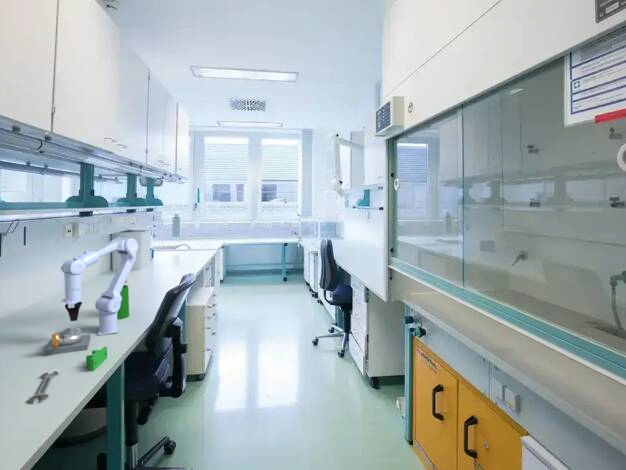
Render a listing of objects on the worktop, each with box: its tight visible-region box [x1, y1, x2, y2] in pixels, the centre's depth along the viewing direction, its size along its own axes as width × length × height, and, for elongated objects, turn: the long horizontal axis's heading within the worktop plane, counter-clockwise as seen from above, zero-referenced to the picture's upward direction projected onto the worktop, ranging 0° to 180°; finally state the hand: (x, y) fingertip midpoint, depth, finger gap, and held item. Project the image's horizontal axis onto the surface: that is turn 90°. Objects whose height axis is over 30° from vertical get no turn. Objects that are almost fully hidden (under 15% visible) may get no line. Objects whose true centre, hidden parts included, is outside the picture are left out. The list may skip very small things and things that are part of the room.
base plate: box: [43, 333, 91, 357], centre depth 144 cm, size 13×14×2 cm
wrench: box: [28, 370, 59, 405], centre depth 112 cm, size 5×2×20 cm
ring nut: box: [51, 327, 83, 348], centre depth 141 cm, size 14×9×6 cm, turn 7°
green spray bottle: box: [111, 278, 130, 320], centre depth 184 cm, size 10×9×20 cm
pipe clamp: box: [85, 346, 108, 372], centre depth 129 cm, size 11×4×5 cm, turn 8°
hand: (74, 320), depth 148 cm, fingers closed
